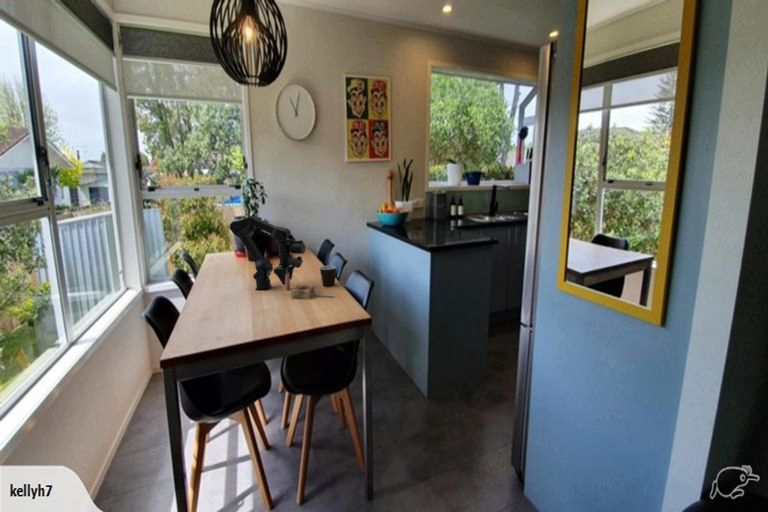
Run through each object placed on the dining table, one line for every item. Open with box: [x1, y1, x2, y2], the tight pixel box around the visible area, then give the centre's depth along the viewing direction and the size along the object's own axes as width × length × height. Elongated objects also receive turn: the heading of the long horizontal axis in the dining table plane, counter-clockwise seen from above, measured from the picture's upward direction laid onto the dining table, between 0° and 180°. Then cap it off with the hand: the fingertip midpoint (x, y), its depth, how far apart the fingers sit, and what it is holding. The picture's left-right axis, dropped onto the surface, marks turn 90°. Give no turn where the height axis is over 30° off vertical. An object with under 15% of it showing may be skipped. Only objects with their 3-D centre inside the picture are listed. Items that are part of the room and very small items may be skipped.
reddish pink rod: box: [284, 273, 291, 291], centre depth 194 cm, size 2×2×9 cm
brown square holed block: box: [291, 284, 316, 300], centre depth 184 cm, size 9×9×4 cm
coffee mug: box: [319, 265, 337, 288], centre depth 201 cm, size 12×9×10 cm
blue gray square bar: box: [312, 294, 336, 299], centre depth 183 cm, size 11×1×1 cm, turn 76°
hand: (287, 281), depth 194 cm, fingers open, 9 cm apart
